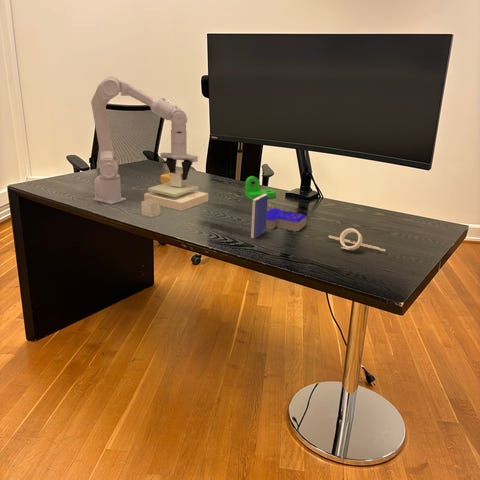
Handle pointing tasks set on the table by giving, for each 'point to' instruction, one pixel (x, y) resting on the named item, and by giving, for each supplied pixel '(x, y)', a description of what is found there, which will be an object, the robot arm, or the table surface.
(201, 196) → the scale housing
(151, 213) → the tan brown block
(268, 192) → the mechanical part
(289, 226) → the blue beige flat block
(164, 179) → the rubber stamp
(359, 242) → the beige ring with bar
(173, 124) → the robot arm
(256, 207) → the hard drive
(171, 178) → the tan brown block
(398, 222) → the table surface
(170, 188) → the pan
